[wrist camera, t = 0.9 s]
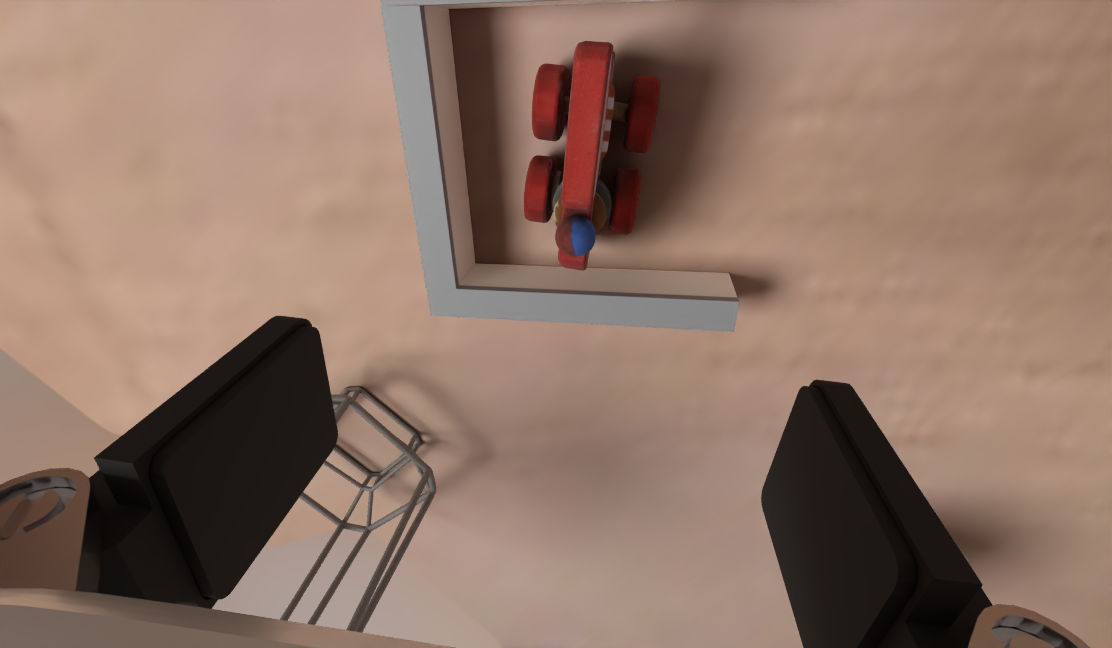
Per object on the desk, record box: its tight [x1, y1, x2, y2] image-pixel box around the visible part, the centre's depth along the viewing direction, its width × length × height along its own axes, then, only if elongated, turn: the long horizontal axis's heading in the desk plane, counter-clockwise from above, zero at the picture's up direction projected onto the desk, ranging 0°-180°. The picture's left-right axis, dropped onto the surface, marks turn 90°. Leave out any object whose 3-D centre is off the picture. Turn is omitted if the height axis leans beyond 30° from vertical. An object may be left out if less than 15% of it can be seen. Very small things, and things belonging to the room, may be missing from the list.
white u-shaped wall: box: [381, 0, 739, 332], centre depth 31 cm, size 20×20×5 cm
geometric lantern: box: [280, 387, 436, 633], centre depth 33 cm, size 16×16×35 cm
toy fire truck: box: [524, 41, 660, 271], centre depth 28 cm, size 7×12×10 cm, turn 173°
